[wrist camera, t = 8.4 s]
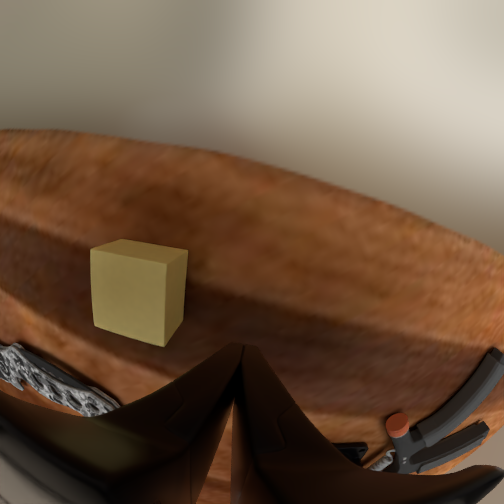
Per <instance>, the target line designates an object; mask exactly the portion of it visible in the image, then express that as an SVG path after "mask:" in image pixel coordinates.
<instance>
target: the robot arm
mask: <svg viewBox="0 0 504 504" xmlns="http://www.w3.org/2000/svg"><path fill="white" fill-rule="evenodd" d="M235 392H236V393H235ZM233 402H234V405H233ZM232 406H233V425H232V459H231V504H476V503H478V502H479V501H480V500H481V499H482V498H484V497H485V496H486V495H487V494H488V493H489V492H490V491H491V490H493V489H494V488H495V487H496V486H497V484H499V483H500V481H501V480H502V479H503V478H504V470H503V469H501V468H499V467H496V466H491V465H474V466H471V467H468V468H465V469H463V470H461V471H458V472H455V473H450V474H443V475H412V474H400V473H390V472H382V471H375V470H369V469H365V468H362V464H361V459H362V457H363V456H364V455H365V453H366V452H367V450H368V446H367V444H365V443H362V444H339V445H333V444H332V443H331V442H330V441H329V440H327V439H326V438H325V437H324V436H323V435H322V434H321V433H320V432H319V430H318V429H317V428H316V427H315V426H314V425H313V424H312V423H311V422H310V421H309V419H308V418H307V417H306V416H305V414H304V413H303V412H302V411H301V409H300V408H299V406H298V405H297V404H295V401H294V400H293V398H292V397H291V395H290V394H289V393H288V391H287V390H286V388H285V387H284V385H283V384H282V383H281V381H280V380H279V378H278V377H277V375H276V374H275V372H274V371H273V370H272V368H271V367H270V365H269V364H268V362H267V361H266V359H265V358H264V356H263V355H262V353H261V352H260V350H259V349H258V347H257V346H253V345H243V344H241V343H235V342H231V343H229V344H228V345H227V346H225V347H224V348H222V349H221V350H219V351H218V352H216V353H215V354H213V355H212V356H211V357H209V358H208V359H206V360H205V361H203V362H202V363H200V364H199V365H197V366H195V367H194V368H192V369H191V370H189V371H188V372H186V373H185V374H183V375H182V376H180V377H179V378H177V379H175V380H174V381H173V382H170V383H169V384H167V385H166V386H164V387H162V388H160V389H159V390H157V391H155V392H153V393H152V394H149V395H147V396H145V397H143V398H141V399H139V400H136V401H134V402H132V403H129V404H127V405H124V406H122V407H119V408H117V409H114V410H112V411H109V412H107V413H104V414H101V415H97V416H92V417H81V416H75V415H71V414H67V413H63V412H59V411H55V410H51V409H48V408H44V407H41V406H38V405H35V404H31V403H28V402H25V401H23V400H20V399H17V398H15V397H13V396H10V395H8V394H6V393H4V392H3V391H1V390H0V504H196V502H197V499H198V497H199V494H200V492H201V489H202V487H203V484H204V482H205V479H206V476H207V474H208V471H209V469H210V466H211V464H212V461H213V458H214V456H215V453H216V450H217V448H218V445H219V442H220V440H221V437H222V434H223V432H224V429H225V426H226V424H227V421H228V418H229V415H230V412H231V409H232Z"/></svg>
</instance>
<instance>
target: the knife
mask: <svg viewBox="0 0 504 504" xmlns="http://www.w3.org/2000/svg"><path fill="white" fill-rule="evenodd" d="M0 378H2V379H4V380H5V381H7V382H9V383H12V384H13V385H14V386H15V387H17V388H18V389H20V390H24V387H23V386H22V384H21V383H20V381H21V378H22V379H23V380H25V381H26V382H27V383H29V384H30V385H31V386H32V387H33V388H35V389H36V390H37V391H38V392H39V393H41V394H42V395H44V396H45V397H47V398H48V399H50V400H52V401H54V402H56V403H59V404H62V405H65V406H68V407H70V408H72V409H74V410H76V411H78V412H79V413H81V414H82V415H83V416H84V417H92V416H97V415H101V414H104V413H107V412H109V411H112V410H114V409H117V408H119V407H121V406H120V405H119V404H118V403H117V402H116V401H115V400H114V399H112V398H111V397H109V396H108V395H106V394H105V393H103V392H102V391H100V390H99V389H98V388H95V387H91V386H87V385H85V384H83V383H82V382H80V381H79V380H77V379H76V378H74V377H73V376H71V375H69V374H68V373H66V372H64V371H63V370H61V369H60V368H58V367H56V366H55V365H53V364H51V363H50V362H48V361H46V360H45V359H43V358H41V357H39V356H37V355H35V354H33V353H31V352H29V351H27V350H25V349H24V348H23V347H22V346H21V345H19V344H17V343H13V344H12V345H11V346H9V347H4V346H2V345H0Z"/></svg>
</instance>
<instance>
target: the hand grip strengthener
mask: <svg viewBox="0 0 504 504" xmlns="http://www.w3.org/2000/svg"><path fill="white" fill-rule="evenodd" d="M503 374H504V354H503V353H502V352H500V351H499V350H498V349H497V348H494V349H493V351H492V353H491V354H489V353H487V355H486V357H485V358H484V360H483V362H482V363H481V365H480V366H479V368H478V369H477V370H476V372H475V373H474V374H473V376H472V377H471V378H470V379H469V381H468V382H467V383H466V384H465V385H464V387H463V388H462V389H461V390H460V391H459V392H458V393H457V394H456V395H455V396H454V397H453V398H452V399H451V400H450V401H449V402H448V403H447V404H446V405H445V406H444V407H443V408H441V409H440V410H439V411H438V412H437V413H435V414H434V415H433V416H431V417H430V418H428V419H426V420H424V421H423V422H421V423H419V424H417V429H416V430H413V431H411V432H409V421H408V417H407V415H406V414H404V413H397V414H394V415H392V416H391V417H389V418H388V420H387V421H386V429H387V432H388V434H389V435H390V437H391V439H392V441H393V445H394V449H392V450H388V451H387V452H386V456H383V457H382V458H380V459H379V460H378V461H376V463H374V464H373V465H371V466H370V467H368V468H367V469H369V470H375V471H381V470H383V469H384V468H385V467H386V466H388V465H389V464H390V463H392V461H393V457H392V455H391V454H389V453H390V452H395V459H394V462H393V463H392V464H391V465H390V466H389V467H388V468H386V469H385V470H383V471H382V472H390V473H400V474H409V473H412V472H415V471H416V472H417V474H418V473H421V472H424V471H427V470H429V469H432V468H435V467H437V466H439V465H442V464H444V463H446V462H448V461H451V460H453V459H455V458H457V457H459V456H461V455H463V454H465V453H466V452H468V451H470V450H472V449H473V448H475V447H477V446H478V445H480V444H481V442H482V440H483V439H485V438H486V436H487V434H488V432H489V430H490V429H489V427H488V426H487V425H486V423H485V422H484V421H483V422H481V423H479V424H478V425H475V424H473V425H471V426H470V427H468V428H466V429H464V430H462V431H460V432H458V433H456V434H454V435H452V436H450V437H447V438H445V439H443V440H441V439H442V438H444V437H445V436H446V435H448V434H449V433H450V432H451V431H453V430H454V429H455V428H456V427H457V426H459V425H460V424H461V423H462V422H463V421H464V420H465V419H466V418H467V417H468V416H469V415H470V414H471V413H472V412H473V411H474V410H475V409H476V408H477V407H478V406H479V405H480V404H481V403H482V401H483V400H484V399H485V398H486V397H487V396H488V394H489V393H490V392H491V391H492V389H493V388H494V387H495V385H496V384H497V383H498V381H499V380H500V378H501V377H502V375H503ZM439 440H440V441H439ZM389 459H390V460H389Z"/></svg>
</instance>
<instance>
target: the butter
mask: <svg viewBox="0 0 504 504" xmlns="http://www.w3.org/2000/svg"><path fill="white" fill-rule="evenodd" d="M187 260H188V250H185V249H179V248H173V247H167V246H161V245H155V244H149V243H144V242H138V241H132V240H126V239H120V240H117V241H113V242H110V243H107V244H104V245H101V246H98V247H95V248H92V249H91V250H90V261H91V292H92V307H93V318H94V326H96V327H99V328H102V329H105V330H108V331H111V332H114V333H117V334H120V335H123V336H127V337H130V338H133V339H136V340H140V341H143V342H147V343H150V344H154V345H158V346H161V347H165V345H166V344H167V342H168V341H169V340H170V338H171V337H172V335H173V334H174V332H175V331H176V330H177V328H178V327H179V325H180V324H181V322H182V321H183V313H184V297H185V283H186V271H187Z"/></svg>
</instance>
